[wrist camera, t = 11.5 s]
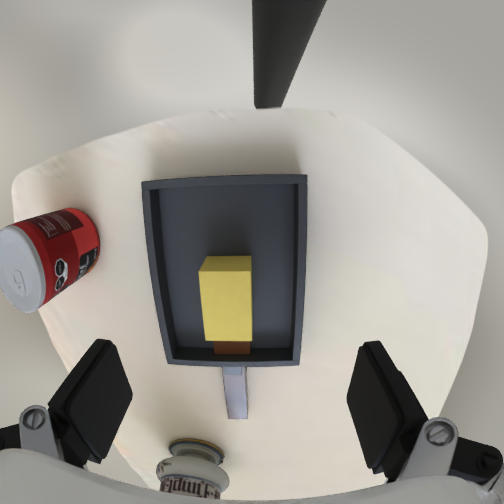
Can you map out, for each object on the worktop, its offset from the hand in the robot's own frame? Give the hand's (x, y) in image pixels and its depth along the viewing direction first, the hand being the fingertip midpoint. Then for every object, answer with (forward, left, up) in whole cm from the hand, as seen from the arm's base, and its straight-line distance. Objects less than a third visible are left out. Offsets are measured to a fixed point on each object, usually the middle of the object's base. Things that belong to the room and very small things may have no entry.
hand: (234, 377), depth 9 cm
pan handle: (+18, -2, -19) cm, 26 cm away
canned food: (-1, -20, -19) cm, 28 cm away
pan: (+3, -2, -19) cm, 19 cm away
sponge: (+4, -2, -18) cm, 19 cm away
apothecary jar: (+37, -10, -19) cm, 43 cm away
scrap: (+10, -2, -18) cm, 21 cm away
